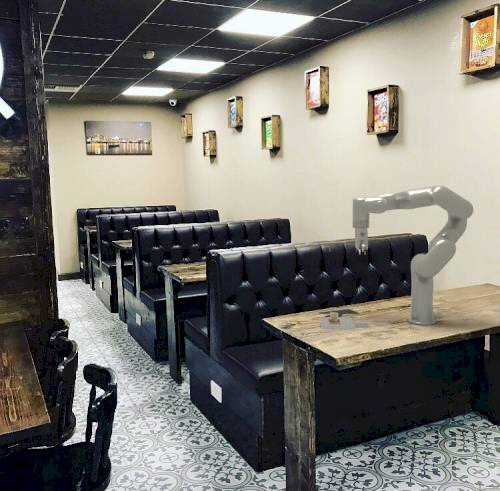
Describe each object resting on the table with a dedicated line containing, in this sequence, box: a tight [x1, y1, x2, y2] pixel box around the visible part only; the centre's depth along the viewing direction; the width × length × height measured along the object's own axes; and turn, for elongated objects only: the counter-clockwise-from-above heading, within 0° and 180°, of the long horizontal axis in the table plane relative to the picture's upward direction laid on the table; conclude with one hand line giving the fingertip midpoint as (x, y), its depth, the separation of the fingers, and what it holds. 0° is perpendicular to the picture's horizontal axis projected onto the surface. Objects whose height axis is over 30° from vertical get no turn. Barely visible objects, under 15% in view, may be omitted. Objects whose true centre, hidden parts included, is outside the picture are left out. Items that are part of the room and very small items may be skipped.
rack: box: [319, 316, 370, 330], centre depth 226 cm, size 21×12×4 cm, turn 85°
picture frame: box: [313, 307, 364, 317], centre depth 247 cm, size 16×3×21 cm
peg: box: [329, 312, 338, 322], centre depth 226 cm, size 4×4×7 cm
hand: (360, 261), depth 234 cm, fingers open, 9 cm apart
